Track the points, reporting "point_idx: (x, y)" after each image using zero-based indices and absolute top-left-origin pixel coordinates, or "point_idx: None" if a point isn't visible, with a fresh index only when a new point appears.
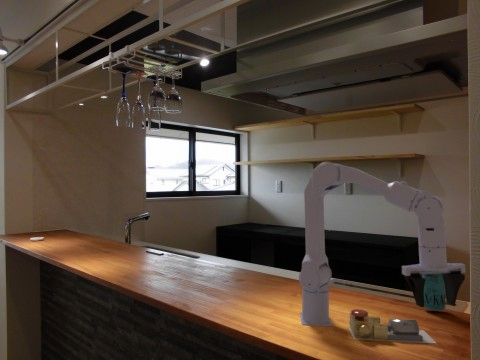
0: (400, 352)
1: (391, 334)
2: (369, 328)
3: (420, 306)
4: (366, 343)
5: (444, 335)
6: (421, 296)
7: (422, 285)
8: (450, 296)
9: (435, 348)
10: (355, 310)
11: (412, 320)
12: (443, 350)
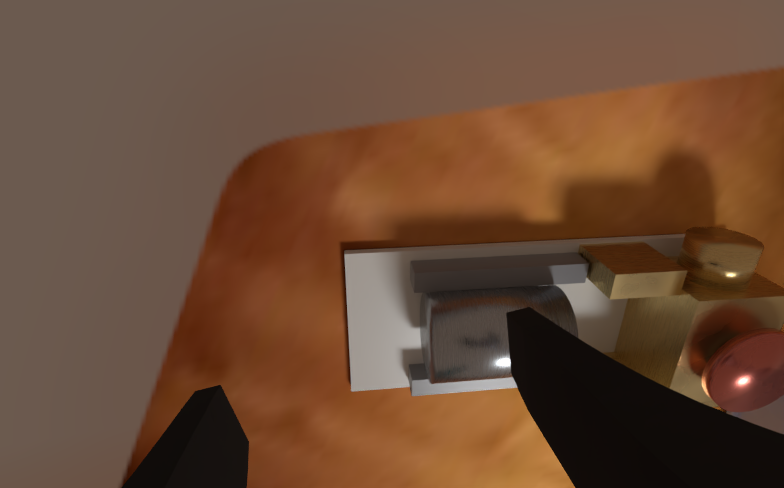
0: (569, 132)
1: (567, 273)
2: (724, 249)
3: (537, 312)
4: (682, 214)
5: (262, 365)
6: (593, 359)
7: (710, 460)
8: (211, 472)
9: (367, 208)
10: (767, 393)
11: (457, 362)
12: (334, 190)
